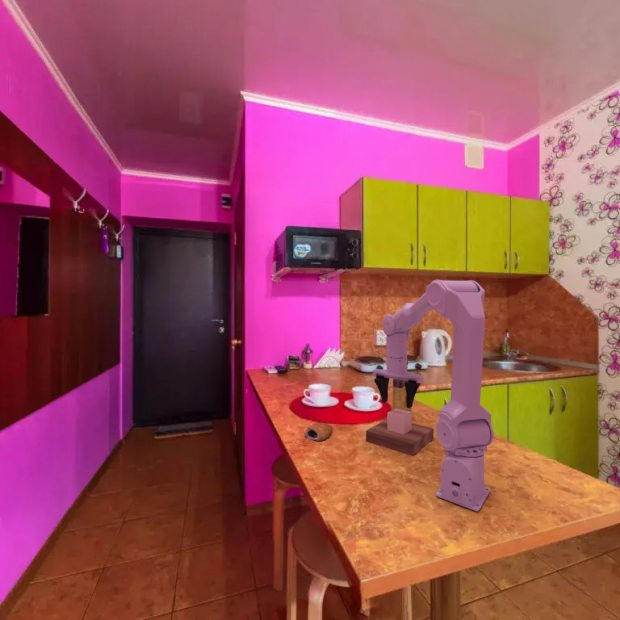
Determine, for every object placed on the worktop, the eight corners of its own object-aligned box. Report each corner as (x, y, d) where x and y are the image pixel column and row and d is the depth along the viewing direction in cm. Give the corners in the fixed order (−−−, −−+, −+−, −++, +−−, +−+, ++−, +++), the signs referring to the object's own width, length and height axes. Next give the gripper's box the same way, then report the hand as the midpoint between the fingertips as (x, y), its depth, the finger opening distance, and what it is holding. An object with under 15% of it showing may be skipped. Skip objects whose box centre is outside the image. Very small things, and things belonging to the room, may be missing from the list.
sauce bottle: (409, 422, 108) (408, 362, 108) (390, 418, 111) (390, 360, 111) (413, 416, 113) (412, 359, 113) (395, 413, 117) (395, 358, 116)
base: (413, 455, 84) (412, 443, 84) (366, 441, 93) (365, 430, 93) (433, 438, 94) (433, 428, 94) (389, 427, 103) (389, 417, 103)
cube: (403, 434, 90) (403, 416, 90) (387, 430, 93) (387, 412, 93) (411, 429, 93) (411, 412, 93) (395, 425, 97) (395, 408, 97)
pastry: (320, 428, 103) (320, 416, 103) (338, 433, 99) (338, 421, 99) (302, 438, 96) (302, 425, 96) (321, 444, 92) (321, 430, 92)
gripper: (427, 357, 91) (427, 406, 91) (381, 353, 101) (381, 396, 101) (416, 361, 86) (416, 412, 86) (369, 355, 95) (369, 402, 95)
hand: (396, 404), depth 93 cm, fingers open, 7 cm apart
